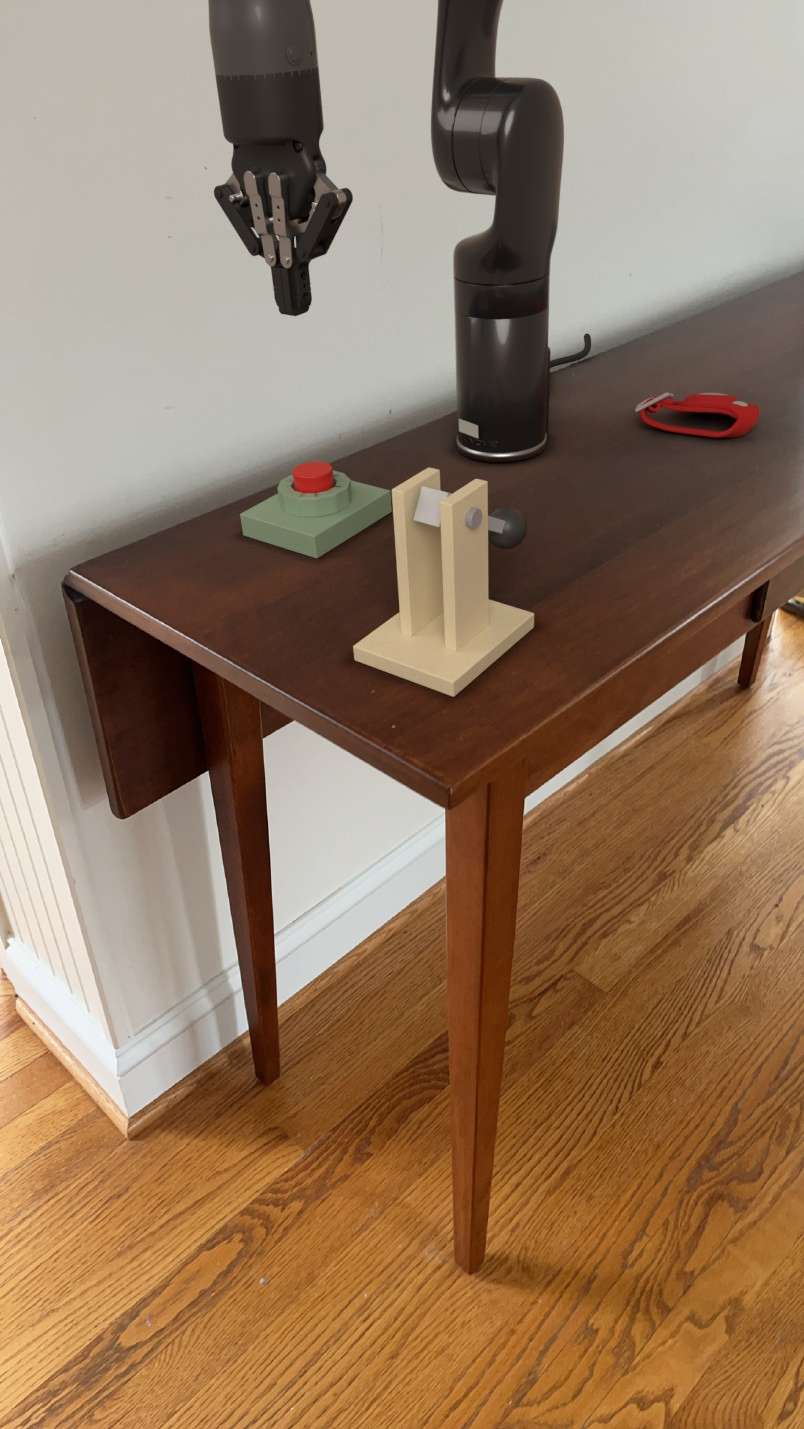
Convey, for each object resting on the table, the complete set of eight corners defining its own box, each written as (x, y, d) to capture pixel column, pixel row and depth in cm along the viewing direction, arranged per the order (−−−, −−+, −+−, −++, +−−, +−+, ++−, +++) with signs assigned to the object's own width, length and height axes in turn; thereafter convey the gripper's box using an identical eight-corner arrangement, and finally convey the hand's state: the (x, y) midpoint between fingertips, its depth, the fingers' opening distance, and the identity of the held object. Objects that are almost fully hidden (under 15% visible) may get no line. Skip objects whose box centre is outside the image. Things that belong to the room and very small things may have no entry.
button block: (319, 492, 101) (315, 453, 99) (392, 511, 97) (389, 472, 94) (242, 535, 94) (236, 495, 92) (317, 559, 90) (312, 517, 87)
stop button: (312, 476, 95) (310, 458, 94) (342, 484, 93) (340, 466, 92) (286, 490, 93) (284, 472, 92) (316, 498, 91) (314, 480, 90)
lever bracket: (438, 597, 83) (432, 446, 76) (534, 627, 78) (538, 469, 71) (353, 660, 76) (337, 501, 69) (453, 697, 72) (448, 531, 64)
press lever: (492, 546, 82) (503, 506, 81) (527, 555, 80) (538, 515, 79) (405, 524, 71) (417, 478, 70) (443, 534, 69) (455, 488, 69)
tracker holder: (712, 393, 114) (782, 395, 106) (707, 434, 115) (775, 439, 107) (627, 389, 109) (693, 391, 100) (623, 432, 110) (688, 437, 101)
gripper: (370, 59, 73) (385, 310, 83) (236, 60, 80) (266, 293, 90) (301, 70, 68) (326, 335, 79) (165, 70, 75) (205, 315, 85)
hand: (294, 312), depth 84 cm, fingers closed
